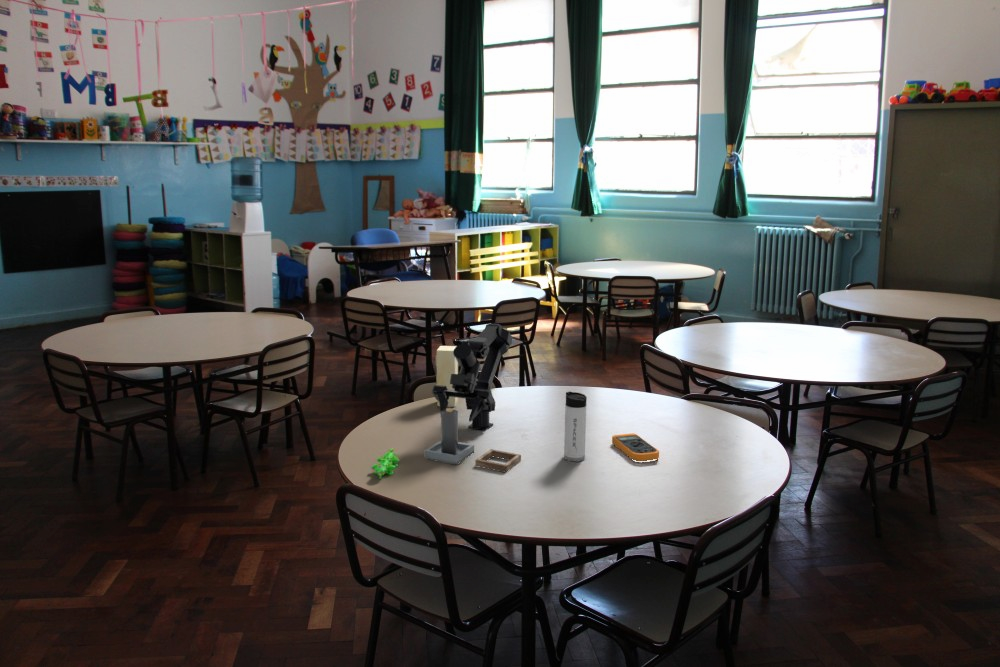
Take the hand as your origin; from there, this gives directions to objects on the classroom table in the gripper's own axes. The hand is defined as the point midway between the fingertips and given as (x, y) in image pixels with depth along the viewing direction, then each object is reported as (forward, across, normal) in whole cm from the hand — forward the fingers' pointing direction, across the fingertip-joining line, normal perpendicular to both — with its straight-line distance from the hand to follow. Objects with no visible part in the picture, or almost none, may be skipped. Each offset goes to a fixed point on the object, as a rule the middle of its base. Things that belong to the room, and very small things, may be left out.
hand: (455, 419), depth 240 cm
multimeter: (-4, +53, +19) cm, 56 cm away
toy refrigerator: (-23, -20, +38) cm, 49 cm away
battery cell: (+10, 0, +3) cm, 10 cm away
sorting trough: (+10, 0, +3) cm, 11 cm away
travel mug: (+3, +36, +11) cm, 38 cm away
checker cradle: (+11, +16, +2) cm, 20 cm away
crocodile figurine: (+22, -13, -8) cm, 27 cm away
